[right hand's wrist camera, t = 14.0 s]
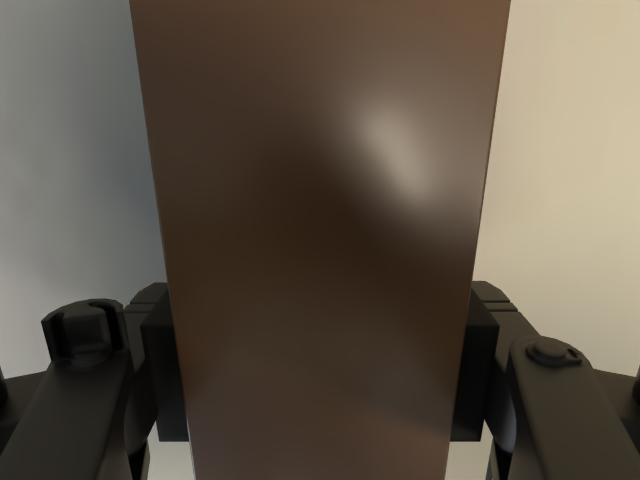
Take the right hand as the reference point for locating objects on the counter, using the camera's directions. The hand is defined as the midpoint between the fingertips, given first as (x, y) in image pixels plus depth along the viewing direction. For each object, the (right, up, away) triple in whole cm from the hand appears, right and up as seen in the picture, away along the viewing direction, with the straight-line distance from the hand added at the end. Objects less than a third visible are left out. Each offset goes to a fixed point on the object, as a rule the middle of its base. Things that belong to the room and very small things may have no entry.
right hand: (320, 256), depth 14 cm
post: (0, +24, -8) cm, 26 cm away
